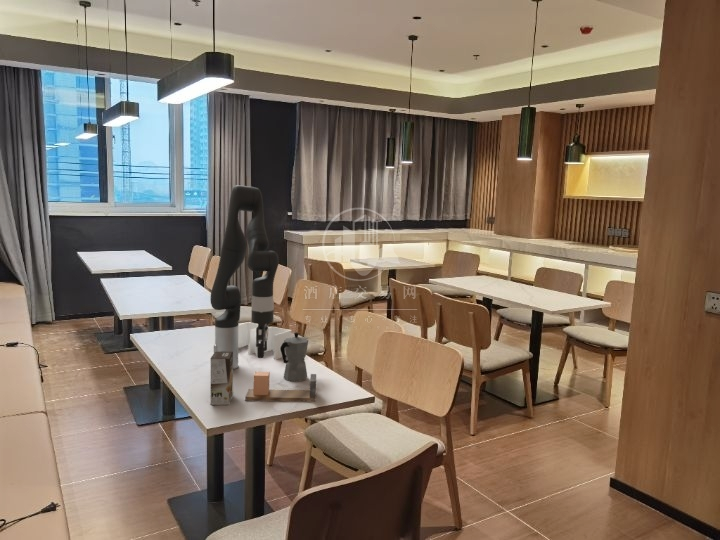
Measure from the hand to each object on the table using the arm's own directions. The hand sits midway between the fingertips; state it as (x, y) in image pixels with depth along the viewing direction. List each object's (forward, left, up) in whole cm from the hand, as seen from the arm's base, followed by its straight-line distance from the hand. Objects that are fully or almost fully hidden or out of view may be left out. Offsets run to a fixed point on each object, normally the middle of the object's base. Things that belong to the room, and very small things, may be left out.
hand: (262, 354), depth 200 cm
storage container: (-7, +56, -16) cm, 59 cm away
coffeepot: (+10, +20, -16) cm, 27 cm away
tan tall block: (0, 0, -14) cm, 14 cm away
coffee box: (-13, -4, -16) cm, 21 cm away
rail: (+7, 0, -15) cm, 17 cm away
